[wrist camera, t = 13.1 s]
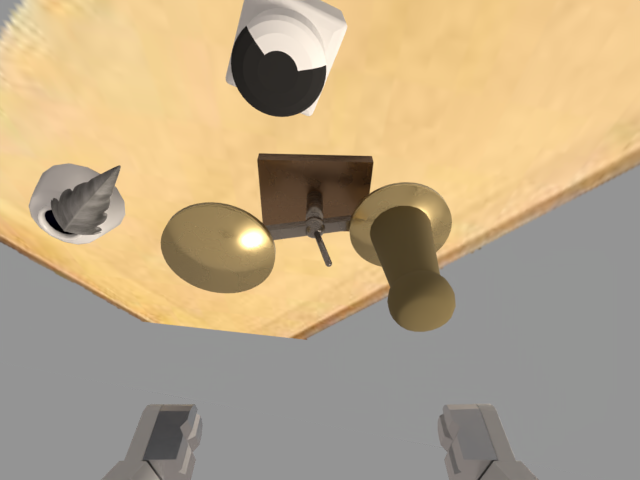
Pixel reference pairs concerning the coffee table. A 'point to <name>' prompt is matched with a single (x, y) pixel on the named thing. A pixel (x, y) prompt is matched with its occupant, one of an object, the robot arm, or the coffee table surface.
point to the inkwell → (77, 203)
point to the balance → (289, 219)
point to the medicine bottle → (284, 54)
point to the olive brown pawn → (412, 269)
